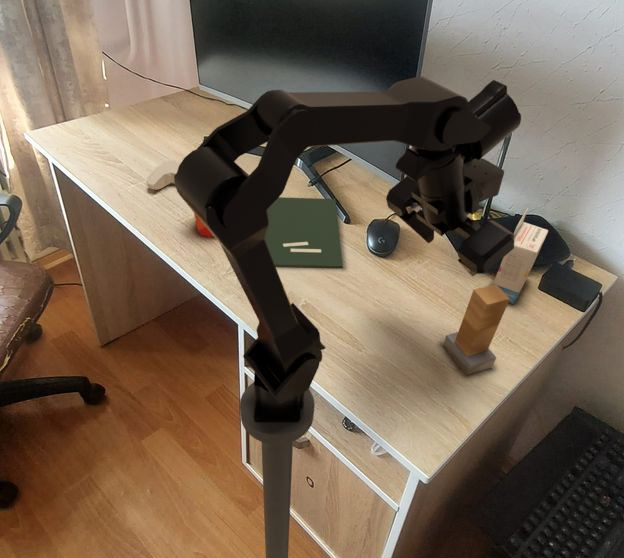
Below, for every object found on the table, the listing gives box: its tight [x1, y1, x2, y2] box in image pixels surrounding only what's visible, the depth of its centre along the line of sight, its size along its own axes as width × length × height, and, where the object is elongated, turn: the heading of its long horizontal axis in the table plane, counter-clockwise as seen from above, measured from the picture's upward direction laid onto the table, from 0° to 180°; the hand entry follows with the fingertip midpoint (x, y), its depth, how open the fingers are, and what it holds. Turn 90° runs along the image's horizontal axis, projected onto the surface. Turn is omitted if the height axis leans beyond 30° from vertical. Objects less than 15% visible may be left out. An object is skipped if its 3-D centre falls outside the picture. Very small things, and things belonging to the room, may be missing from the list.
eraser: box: [442, 284, 510, 376], centre depth 81 cm, size 5×7×14 cm
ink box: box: [492, 207, 549, 305], centre depth 93 cm, size 8×5×15 cm, turn 150°
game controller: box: [146, 159, 181, 191], centre depth 116 cm, size 14×4×10 cm
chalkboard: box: [265, 196, 344, 269], centre depth 108 cm, size 24×16×1 cm, turn 2°
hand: (451, 256), depth 77 cm, fingers open, 9 cm apart
